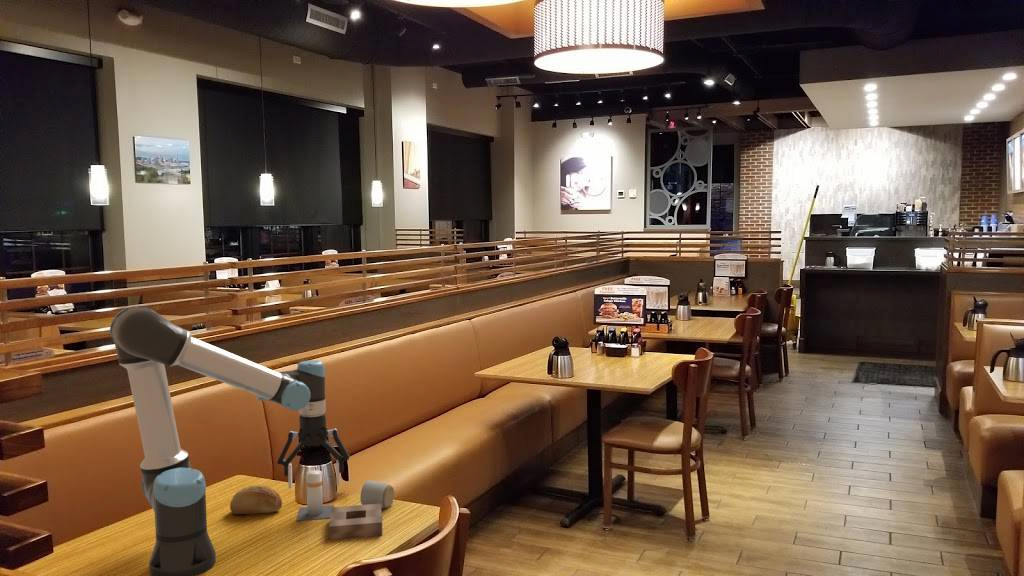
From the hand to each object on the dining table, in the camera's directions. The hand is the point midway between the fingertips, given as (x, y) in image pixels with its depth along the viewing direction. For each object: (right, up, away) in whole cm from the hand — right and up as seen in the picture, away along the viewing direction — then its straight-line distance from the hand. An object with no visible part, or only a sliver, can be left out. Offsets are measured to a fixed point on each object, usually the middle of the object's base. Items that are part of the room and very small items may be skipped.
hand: (314, 485), depth 216 cm
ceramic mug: (+18, -8, +8) cm, 21 cm away
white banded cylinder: (0, -8, +1) cm, 8 cm away
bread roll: (-18, -9, +3) cm, 20 cm away
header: (+14, -10, -10) cm, 20 cm away
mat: (0, -9, +1) cm, 9 cm away
